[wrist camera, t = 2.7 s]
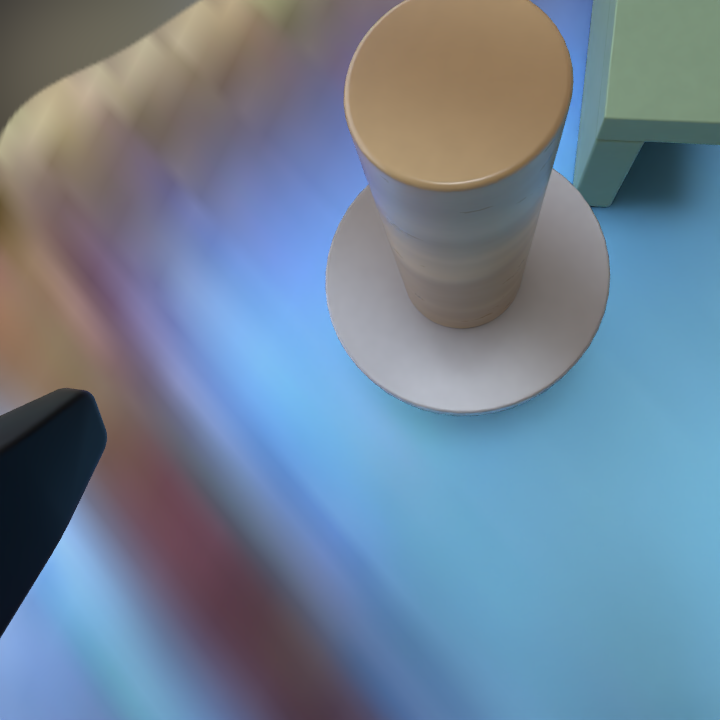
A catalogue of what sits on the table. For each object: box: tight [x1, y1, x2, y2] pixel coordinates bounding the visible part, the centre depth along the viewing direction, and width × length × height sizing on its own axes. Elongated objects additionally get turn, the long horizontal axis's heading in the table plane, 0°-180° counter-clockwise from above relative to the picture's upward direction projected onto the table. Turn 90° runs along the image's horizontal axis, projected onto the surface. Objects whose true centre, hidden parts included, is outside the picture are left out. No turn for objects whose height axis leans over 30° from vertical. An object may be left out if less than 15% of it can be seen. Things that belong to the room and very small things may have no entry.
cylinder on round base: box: [326, 0, 610, 416], centre depth 13 cm, size 7×7×12 cm
